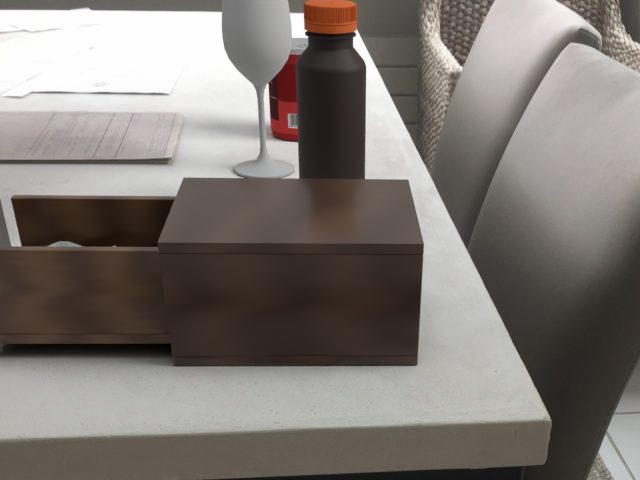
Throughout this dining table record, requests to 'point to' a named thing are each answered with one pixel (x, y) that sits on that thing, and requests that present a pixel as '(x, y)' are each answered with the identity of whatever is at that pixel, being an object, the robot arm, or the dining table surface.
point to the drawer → (84, 271)
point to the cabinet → (292, 272)
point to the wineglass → (258, 63)
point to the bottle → (331, 94)
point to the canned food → (286, 95)
